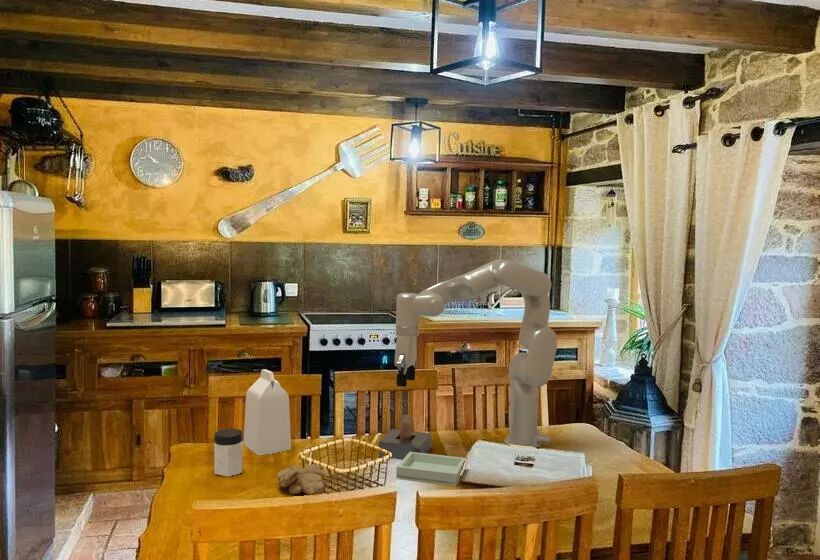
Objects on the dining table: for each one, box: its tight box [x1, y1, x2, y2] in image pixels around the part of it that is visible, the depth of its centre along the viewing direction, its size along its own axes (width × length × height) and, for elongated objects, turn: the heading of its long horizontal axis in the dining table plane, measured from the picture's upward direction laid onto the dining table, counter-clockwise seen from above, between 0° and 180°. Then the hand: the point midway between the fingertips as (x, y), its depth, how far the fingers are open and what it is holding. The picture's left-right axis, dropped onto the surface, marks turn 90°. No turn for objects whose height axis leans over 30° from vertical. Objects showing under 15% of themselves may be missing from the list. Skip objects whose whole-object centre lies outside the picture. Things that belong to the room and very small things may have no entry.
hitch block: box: [378, 428, 433, 460], centre depth 216 cm, size 14×14×5 cm
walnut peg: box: [399, 414, 413, 441], centre depth 216 cm, size 4×4×12 cm
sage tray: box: [395, 452, 467, 487], centre depth 197 cm, size 18×14×4 cm
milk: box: [243, 368, 292, 456], centre depth 217 cm, size 12×12×26 cm
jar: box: [213, 428, 244, 477], centre depth 196 cm, size 9×8×12 cm
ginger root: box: [276, 463, 326, 496], centre depth 184 cm, size 16×16×8 cm
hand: (405, 383), depth 214 cm, fingers open, 9 cm apart
